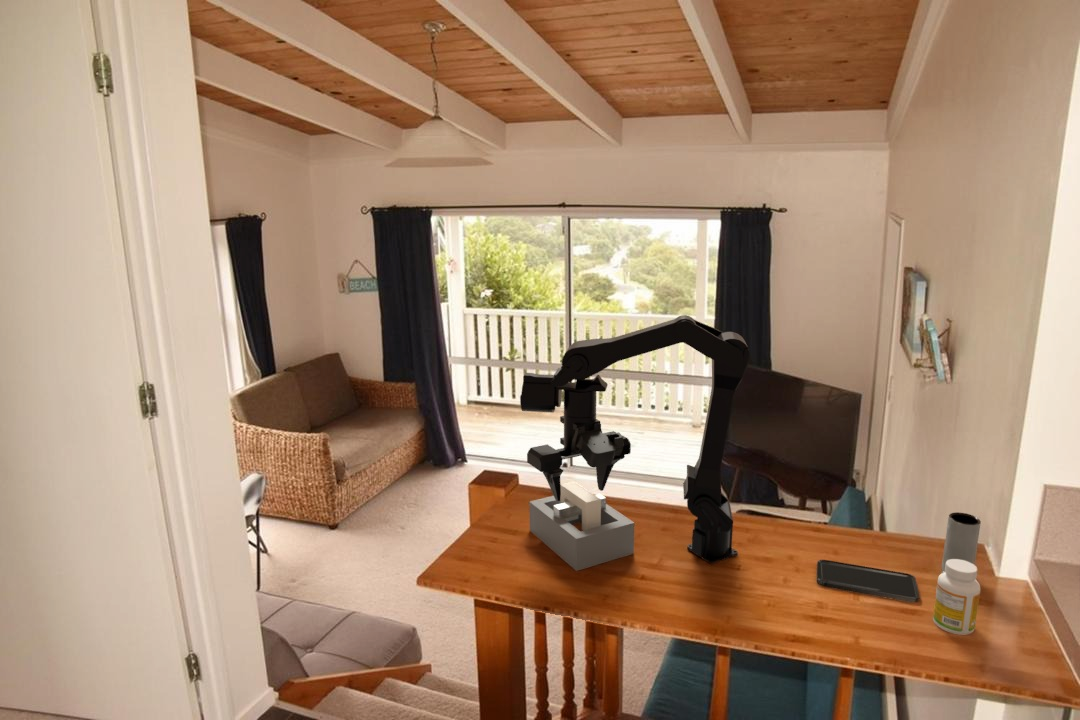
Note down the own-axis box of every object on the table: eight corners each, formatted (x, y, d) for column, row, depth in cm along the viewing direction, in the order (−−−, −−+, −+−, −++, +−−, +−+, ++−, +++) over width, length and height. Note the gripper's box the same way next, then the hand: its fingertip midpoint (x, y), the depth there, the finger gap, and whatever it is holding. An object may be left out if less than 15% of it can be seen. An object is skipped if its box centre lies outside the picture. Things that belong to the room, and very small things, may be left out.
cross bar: (599, 503, 131) (600, 493, 131) (605, 507, 130) (606, 497, 129) (553, 515, 127) (553, 505, 126) (559, 520, 125) (559, 509, 125)
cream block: (574, 515, 133) (574, 481, 132) (600, 535, 126) (600, 498, 124) (560, 519, 132) (560, 484, 130) (586, 539, 124) (586, 502, 123)
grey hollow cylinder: (976, 583, 114) (985, 525, 112) (946, 580, 115) (954, 523, 113) (966, 569, 119) (974, 513, 116) (937, 566, 120) (944, 511, 117)
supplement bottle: (959, 613, 106) (968, 555, 104) (982, 635, 101) (992, 574, 99) (924, 614, 106) (932, 556, 104) (946, 636, 101) (954, 575, 99)
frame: (583, 516, 140) (583, 488, 138) (633, 553, 125) (634, 522, 124) (529, 530, 134) (529, 501, 133) (576, 571, 120) (576, 538, 118)
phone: (817, 558, 121) (914, 574, 116) (816, 564, 122) (913, 580, 116) (816, 581, 114) (920, 599, 109) (816, 587, 114) (919, 606, 109)
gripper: (557, 435, 113) (557, 524, 116) (650, 417, 121) (648, 500, 125) (525, 416, 122) (526, 499, 126) (613, 401, 131) (612, 479, 134)
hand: (579, 495), depth 127 cm, fingers open, 9 cm apart
